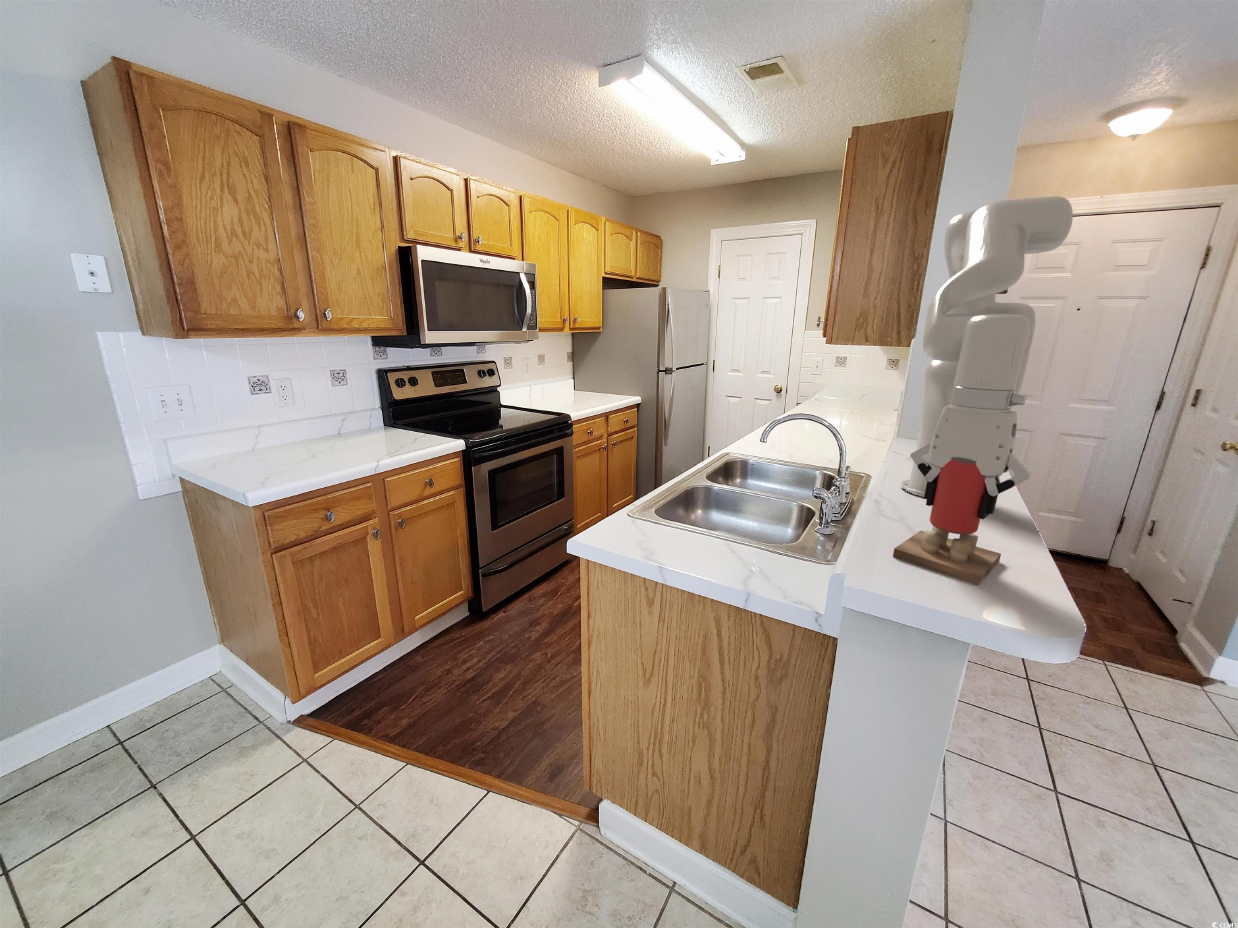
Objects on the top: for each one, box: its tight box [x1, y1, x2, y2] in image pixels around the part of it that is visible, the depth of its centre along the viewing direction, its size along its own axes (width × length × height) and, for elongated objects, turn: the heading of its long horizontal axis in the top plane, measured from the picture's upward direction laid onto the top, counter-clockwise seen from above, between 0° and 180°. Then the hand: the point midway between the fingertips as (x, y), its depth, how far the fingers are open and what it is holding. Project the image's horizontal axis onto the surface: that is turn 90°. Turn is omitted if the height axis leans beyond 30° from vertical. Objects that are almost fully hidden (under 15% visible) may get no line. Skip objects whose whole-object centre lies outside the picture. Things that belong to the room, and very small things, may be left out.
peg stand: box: [892, 525, 1002, 586], centre depth 80 cm, size 12×12×4 cm
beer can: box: [929, 457, 987, 535], centre depth 78 cm, size 7×7×12 cm
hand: (956, 509), depth 78 cm, fingers closed on beer can, 6 cm apart
